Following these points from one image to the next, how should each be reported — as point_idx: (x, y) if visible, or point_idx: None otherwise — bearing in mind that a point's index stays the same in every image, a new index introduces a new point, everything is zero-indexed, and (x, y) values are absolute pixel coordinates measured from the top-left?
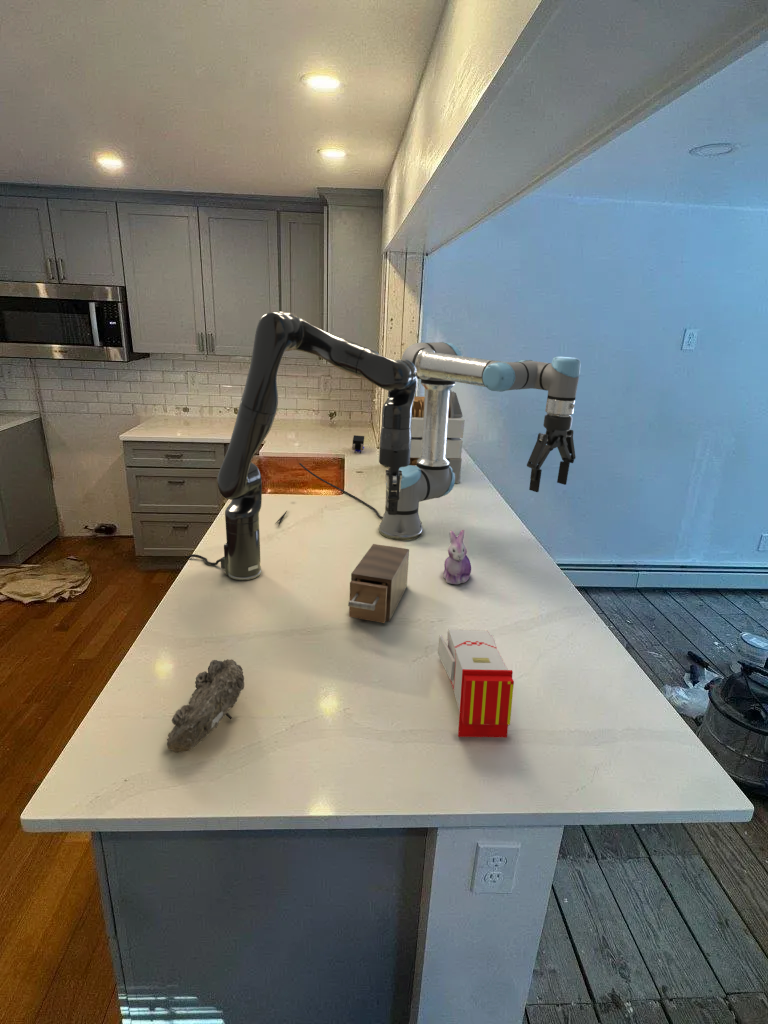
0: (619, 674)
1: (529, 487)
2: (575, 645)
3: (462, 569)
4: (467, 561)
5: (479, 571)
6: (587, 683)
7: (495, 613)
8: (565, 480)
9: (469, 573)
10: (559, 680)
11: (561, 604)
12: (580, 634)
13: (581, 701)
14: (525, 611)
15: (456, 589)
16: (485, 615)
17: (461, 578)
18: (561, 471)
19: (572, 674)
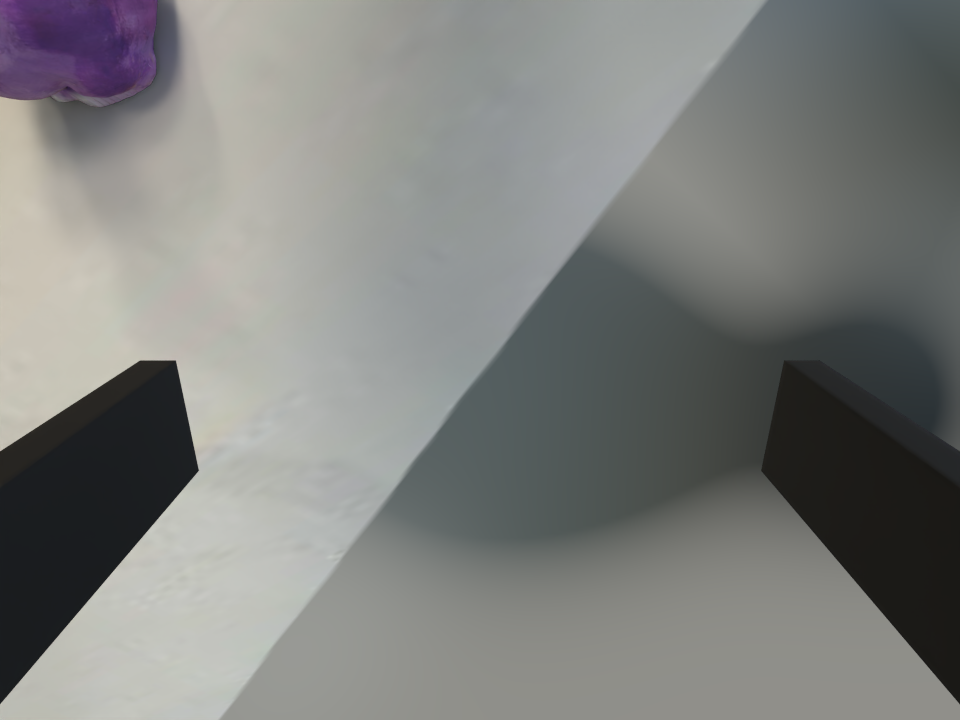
0: (188, 692)
1: (120, 374)
2: (186, 587)
3: (23, 99)
4: (64, 70)
5: (254, 54)
6: (88, 673)
7: (75, 357)
8: (793, 504)
9: (118, 94)
10: None
11: (343, 446)
12: (245, 568)
13: (26, 693)
14: (188, 406)
15: (34, 128)
16: (31, 346)
17: (70, 94)
18: (887, 501)
19: (79, 642)
